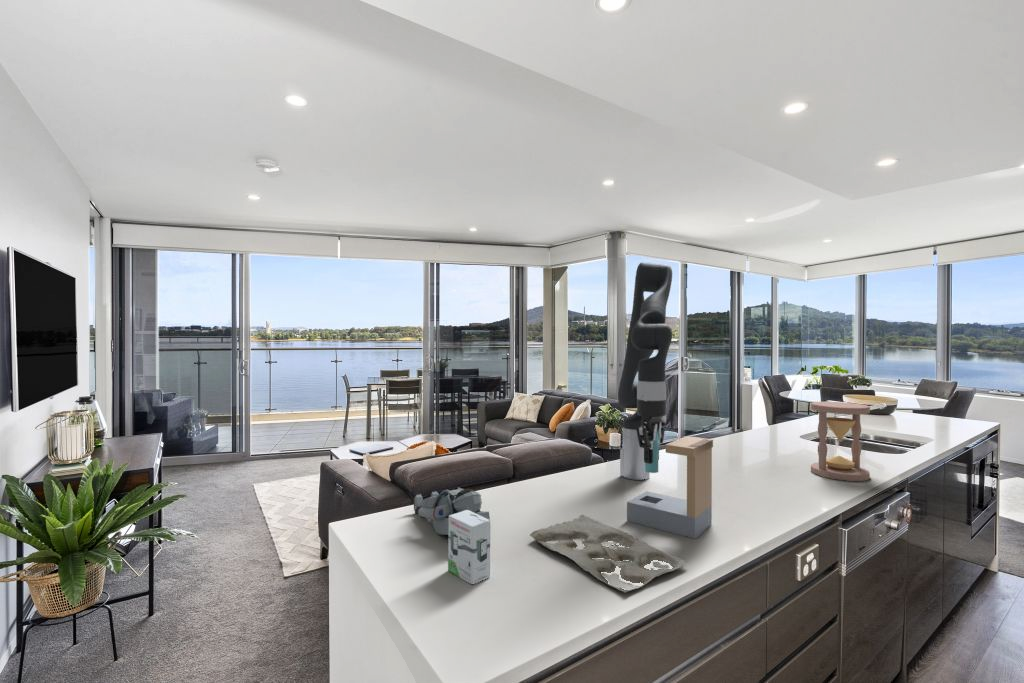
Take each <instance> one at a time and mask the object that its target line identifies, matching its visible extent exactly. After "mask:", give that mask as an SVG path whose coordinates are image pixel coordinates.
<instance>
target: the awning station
mask: <svg viewBox="0 0 1024 683" xmlns="http://www.w3.org/2000/svg"><path fill="white" fill-rule="evenodd" d="M712 448H714V439H712V438H704V437H697V436H690V435H689V436H688V435H686V436H683V437H680V438H679V439H676V440H674V441H671V442H669V443H666V444H665V453H667V454H673V455H677V456H679V455H680V456H685V457H686V499H685V498H679V497H675V496H670V495H667V494H666V495H665V494H661V493H656V492H653V491H652V492H651V491H648V490H646V491H644V492H643V493H640V494H639V495H637V496H635V497H634V498H632V499H630V500H628V501H627V502H626V521H627V522H630V521H631V523H635V524H637V523H638V524H639V525H642V526H646V527H648V528H649V527H650V528H654V529H657V530H661V531H664V532H669V533H672V534H675V535H678V536H679V535H680V536H683V537H687V536H688V537H687V538H690V537H691V539H694V538H695V539H697V538H698V537H699V536H700V535H701V534H702V533H703V532H705V529H706V530H707V529H708V528H709V527H710V526H712V525H713V524H712V522H713V521H712V520H713V519H712V518H713V517H712V507H713V506H712V505H713V504H712V502H713V501H712V500H713V499H712V497H713V496H712V495H713V494H712V491H713V488H712V486H713V485H712V484H713V483H712V482H713V481H712V480H713V479H712V478H713V477H712V476H713V473H712V472H713V471H712V469H713V464H712V462H713V449H712ZM698 535H699V536H698Z"/></svg>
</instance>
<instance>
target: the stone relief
mask: <svg viewBox="0 0 1024 683" xmlns="http://www.w3.org/2000/svg"><path fill="white" fill-rule="evenodd" d="M529 536H530V537H531V538H533V539H534V540H535V542H536V543H537V545H540V546H541V545H542V546H544V547H545V548H547V549H548V550H551V551H554V552H557V553H559V554H561V555H563V556H566V557H567V558H569V559H570V560H572V561H574V563H576V564H577V565H578V566H579V567H580V568H581V569H583V571H586V572H589V573H590V574H591V575H592V576H594V577H595V578H596V579H597V580H599V581H601V582H603V583H605V585H608V586H609V587H612V588H615V589H616V590H618V591H621V592H622V593H628V592H630V591H632V590H633V591H634V590H638V589H641V588H640V587H636V588H633V589H625V590H624V589H622V588H623V587H622V588H621V587H616V586H614V585H612V584H610V585H609V584H608V581H609V580H608V581H607V580H606V579H605V578H606V577H605V576H604V575H603V573H602V574H601V572H607V573H611V572H614V571H615V568H616V566H618V565H620V566H618V567H619V568H621V570H620V575H621V578H622V579H624V580H626V581H630V582H632V583H640V582H641V583H643V584H644V585H643V586H642V587H644V586H645V585H646V584H648V583H649V582H650V581H652V580H653V579H654V578H656V577H660V576H662V575H664V574H667V573H670V572H671V573H672V571H675V570H677V569H678V570H679V569H681V568H682V567H684V566H685V564H687V561H686V560H684V559H682V558H679V557H678V556H675V555H672V554H668V553H666V552H664V551H662V550H660V549H658V548H656V547H654V546H652V545H649V544H648V543H646V542H645V541H641V540H639V539H638V538H636V537H635V536H633V535H632V534H630V533H628V532H625V531H623V530H621V529H617V528H615V527H612V526H611V525H610V526H609V525H606V524H604V523H602V522H600V521H599V520H595V519H594V518H590V517H587V516H586V515H584V514H580V515H579V516H578V518H574V519H572V520H569V521H564V522H562V523H555V524H554V525H550V526H548V527H545V528H540V529H538V530H537V529H536V530H534V531H532V533H530V534H529ZM580 538H581V539H580ZM573 539H574V540H577V539H580V540H583V539H584V540H583V541H581V543H582V545H583V544H584V546H585V547H584V546H583V549H580V548H579V549H578V548H576V547H577V546H578V544H577V543H576V542H575V541H573ZM552 541H554V542H555V541H556V542H555V543H551V542H552ZM608 541H613V542H616V543H619V545H620V546H621V545H622V546H625V547H624V548H625V549H623V548H620V549H614V548H610V547H606V546H607V545H604V544H603V543H602V542H608ZM601 543H602V544H601ZM616 543H613V544H614V545H615V546H614V545H612V544H610V545H611V546H614V547H617V546H619V545H616ZM603 545H604V546H603ZM573 547H574V548H573ZM626 547H629V548H626ZM617 548H618V547H617ZM613 549H614V550H613ZM592 558H604V559H602V560H598V559H592ZM605 559H611V560H614V561H623V560H629V561H632V562H629V561H628V562H625V563H623V564H616V565H615V562H614V561H610V560H605ZM653 560H658V561H662V562H663V561H664V562H666V563H669V564H670V565H671V566H672V567H673V568H672V569H666V568H663V569H658V570H653V569H651V570H649V569H646V568H644V566H645V565H647V564H650V563H651V561H653ZM623 562H624V561H623ZM611 585H612V586H611ZM613 586H614V587H613ZM637 588H638V589H637Z"/></svg>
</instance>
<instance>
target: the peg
mask: <svg viewBox="0 0 1024 683" xmlns="http://www.w3.org/2000/svg"><path fill="white" fill-rule="evenodd" d="M648 437H652V436H648ZM649 443H650V441H649ZM645 471H646V472H649V473H651V474H656V473H659V460H658V430H657V431H656V437H655V441H653V463H651V464H649V463H645Z"/></svg>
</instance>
